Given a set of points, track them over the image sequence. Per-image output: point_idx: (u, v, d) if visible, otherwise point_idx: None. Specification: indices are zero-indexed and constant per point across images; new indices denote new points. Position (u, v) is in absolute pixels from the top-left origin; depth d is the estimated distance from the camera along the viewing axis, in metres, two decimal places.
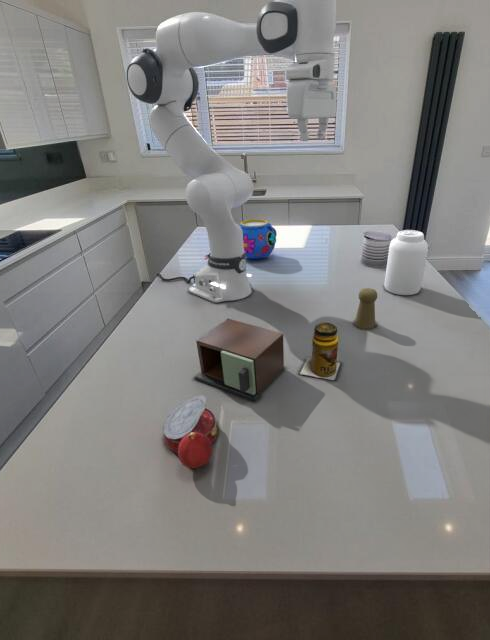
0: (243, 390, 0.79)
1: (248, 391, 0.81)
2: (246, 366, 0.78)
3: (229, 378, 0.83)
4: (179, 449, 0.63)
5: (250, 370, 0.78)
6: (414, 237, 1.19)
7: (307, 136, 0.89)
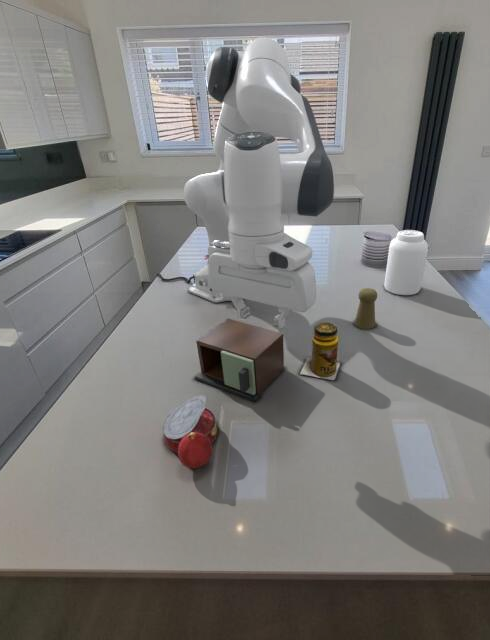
0: (243, 390, 0.79)
1: (248, 391, 0.81)
2: (246, 366, 0.78)
3: (229, 378, 0.83)
4: (179, 449, 0.63)
5: (250, 370, 0.78)
6: (414, 237, 1.19)
7: None
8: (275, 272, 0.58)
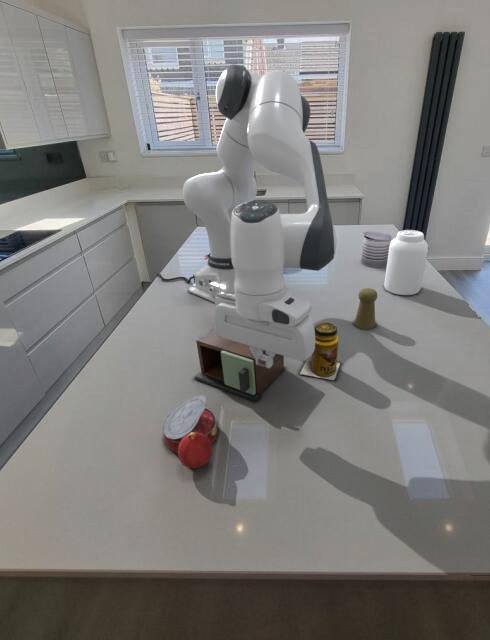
0: (243, 390, 0.79)
1: (248, 391, 0.81)
2: (246, 366, 0.78)
3: (229, 378, 0.83)
4: (179, 449, 0.63)
5: (250, 370, 0.78)
6: (414, 237, 1.19)
7: None
8: (277, 326, 0.63)
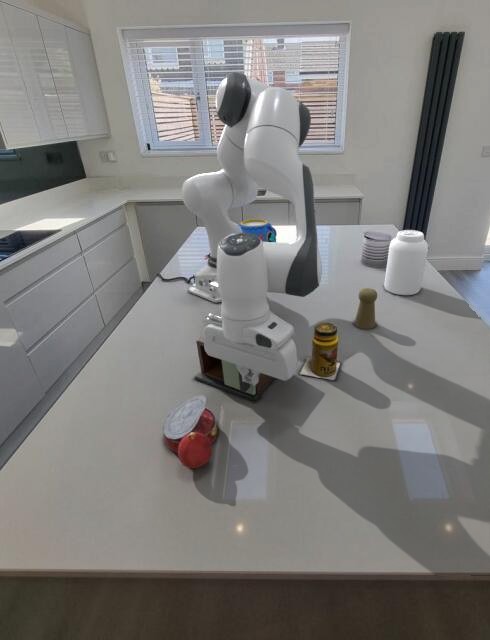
0: (243, 390, 0.79)
1: (248, 391, 0.81)
2: None
3: (229, 378, 0.83)
4: (179, 449, 0.63)
5: (250, 370, 0.78)
6: (414, 237, 1.19)
7: None
8: (261, 349, 0.67)
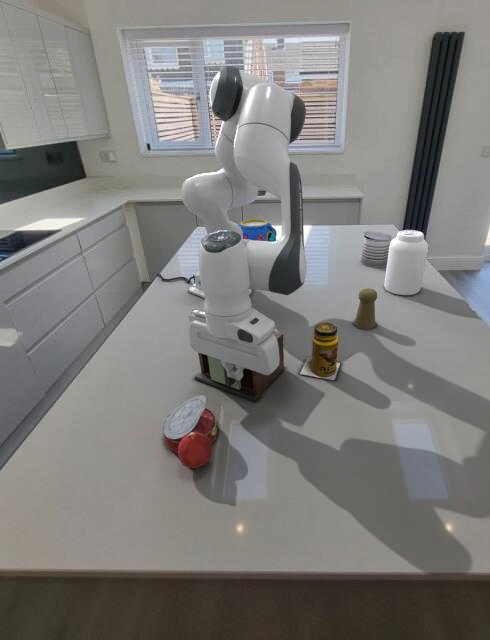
0: (228, 385, 0.81)
1: (234, 386, 0.83)
2: None
3: (215, 373, 0.84)
4: (179, 449, 0.63)
5: None
6: (414, 237, 1.19)
7: None
8: (243, 344, 0.69)
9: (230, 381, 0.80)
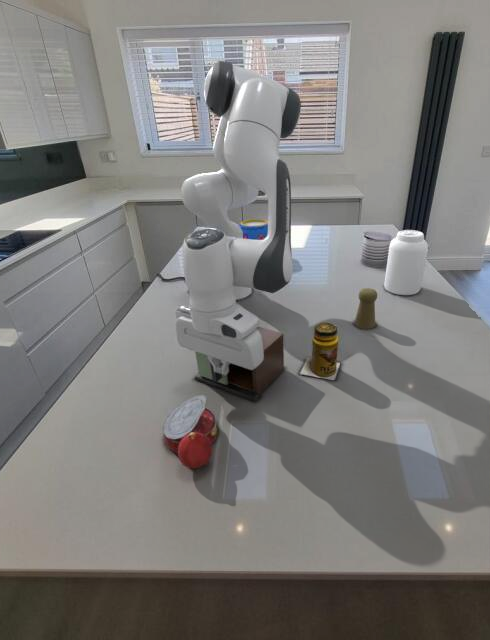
0: (215, 380, 0.82)
1: (221, 381, 0.85)
2: None
3: (202, 369, 0.86)
4: (179, 449, 0.63)
5: None
6: (414, 237, 1.19)
7: None
8: (227, 339, 0.70)
9: (217, 376, 0.82)
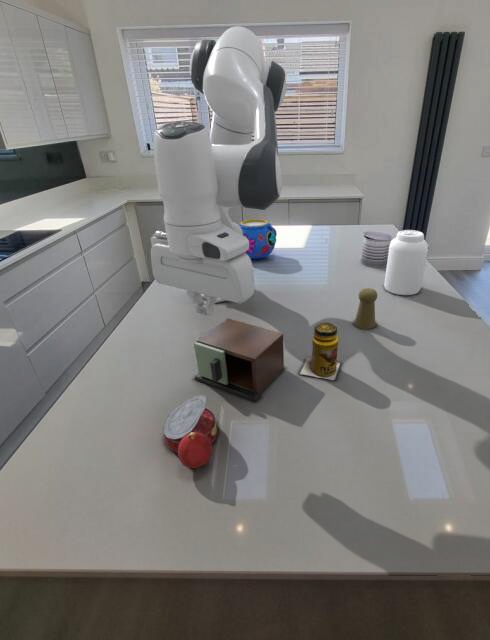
0: (215, 380, 0.82)
1: (221, 381, 0.85)
2: (218, 357, 0.81)
3: (202, 369, 0.86)
4: (179, 449, 0.63)
5: (222, 361, 0.81)
6: (414, 237, 1.19)
7: None
8: (210, 262, 0.58)
9: (217, 376, 0.82)
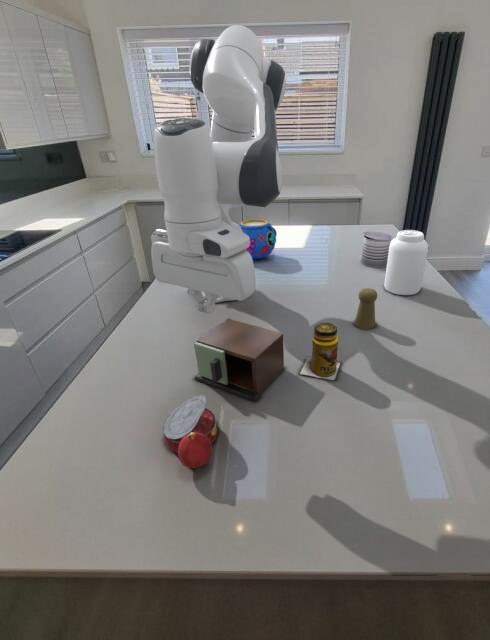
0: (215, 380, 0.82)
1: (221, 381, 0.85)
2: (218, 357, 0.81)
3: (202, 369, 0.86)
4: (179, 449, 0.63)
5: (222, 361, 0.81)
6: (414, 237, 1.19)
7: None
8: (211, 260, 0.58)
9: (217, 376, 0.82)
